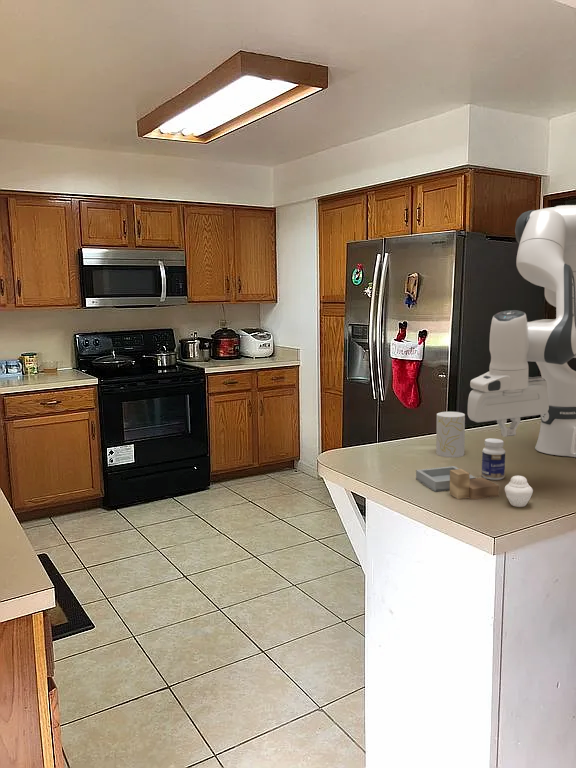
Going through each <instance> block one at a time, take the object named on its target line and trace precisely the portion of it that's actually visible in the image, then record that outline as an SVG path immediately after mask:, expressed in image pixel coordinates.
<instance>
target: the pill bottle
mask: <svg viewBox="0 0 576 768" xmlns="http://www.w3.org/2000/svg"><path fill="white" fill-rule="evenodd" d="M484 446H485V447H483V449H482V452H481V454H482V456H481V459H482V460H481V476H482V477H481V478H485V479H487V480H489V481H490V480H491V481H499V480H503V479H504V478H505V473H506V471H505V470H506V449H505V448H503V447H504V440H502V439H500V438H492V437H491V438H485V439H484Z"/></svg>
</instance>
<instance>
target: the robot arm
mask: <svg viewBox="0 0 576 768" xmlns="http://www.w3.org/2000/svg"><path fill="white" fill-rule="evenodd" d="M514 228H515V229H514V233H515V241H516V242H517V244H518V248H517V253H516V254H517V255H516V262H515V263H516V269H517V271H518V273H519V275H521V276H522V278H523V279H524V280H526V281H528V282H530V283H531V284H533V285H535V286H539V287H543V288H544V297H545V300H546V302H547V303H548V304H549V305H551V306H553V307H554V308H556V309H555V311H556V312H555V313H556V314H555V317H556V318H553V319H548V318H545V319H544V318H542V319H535V320H532V321H528V318H527V314H526V312H524V311H521V310H518V309H517V310H516V309H513V310H504V311H503V310H502V311H500V312H497V313H495V314H494V315H493V316H492V319H491V324H490V330H489V331H490V332H489V344H488V345H489V347H488V348H489V353H490V363H489V367H488V369H489V371H487V372H485V373H483V374H481V375H479V376H477V377H474V378H472V379H471V380H470V383H469V386H470V388H471V389H472V390H471V391H470V392H469V394H468V399H467V416H468V419H469V420H470V421H472V422H475V423H484V422H485V423H486V422H493V421H496V423H497V425H498V426H499V428H500V432H501V437H504V438H506V437H513V436H516V435H517V428H518V427H519V425H520V423H521V418H525V417H531V416H532V417H533V416H539V415H540V425H539V426H540V427H539V428H540V429H539V433H538V437H537V442H536V443H535V447H534V449H535V450H536V451H537V452H540V453H544V454H547V455H552V456H553V455H555V456H562V457H571V458H576V370H574V369H572V368H571V367H570V366H569V364H568V362H569V361H570V360H572V359H573V358H574V359H576V204H565V205H564V204H563V205H562V204H561V205H556V206H554V207H545V208H541V209H536V210H535V209H531V210H528V211H525V212H522V213H521V214H520V215H519V217H517V219H516V221H515V227H514ZM528 362H533V363H534V362H535V363H536V365H537V367H538V369H539V371H540V375H541V376H533V377H532V376H529V363H528ZM509 419H510V421H511V422H510V425H509V427H507V426H506V424H507V421H508V420H509Z"/></svg>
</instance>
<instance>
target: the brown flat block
mask: <svg viewBox="0 0 576 768" xmlns="http://www.w3.org/2000/svg"><path fill="white" fill-rule="evenodd" d="M499 491H500V485H499V484H496V483H494V482H493V481H492V480H491V481H490V479H486V478H484V477H476V478H475V479H470V483H469V498H468V499H470V500H471V501H472V500H473V501H474V500H480V499H489V498H496V497H500V492H499Z"/></svg>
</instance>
